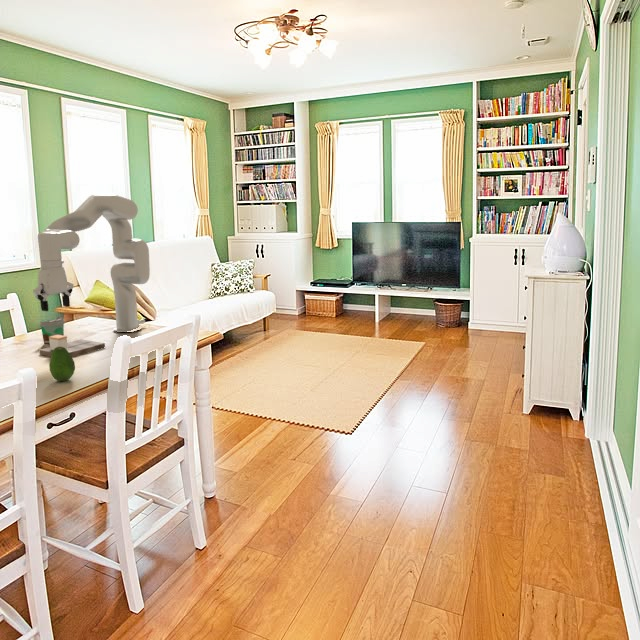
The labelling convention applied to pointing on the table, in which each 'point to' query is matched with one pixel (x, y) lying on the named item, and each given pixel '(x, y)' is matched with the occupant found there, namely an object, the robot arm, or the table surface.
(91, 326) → the table surface
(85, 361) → the table surface
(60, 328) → the food container
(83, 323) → the table surface
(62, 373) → the avocado
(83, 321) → the table surface
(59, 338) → the beige small block
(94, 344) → the panel
